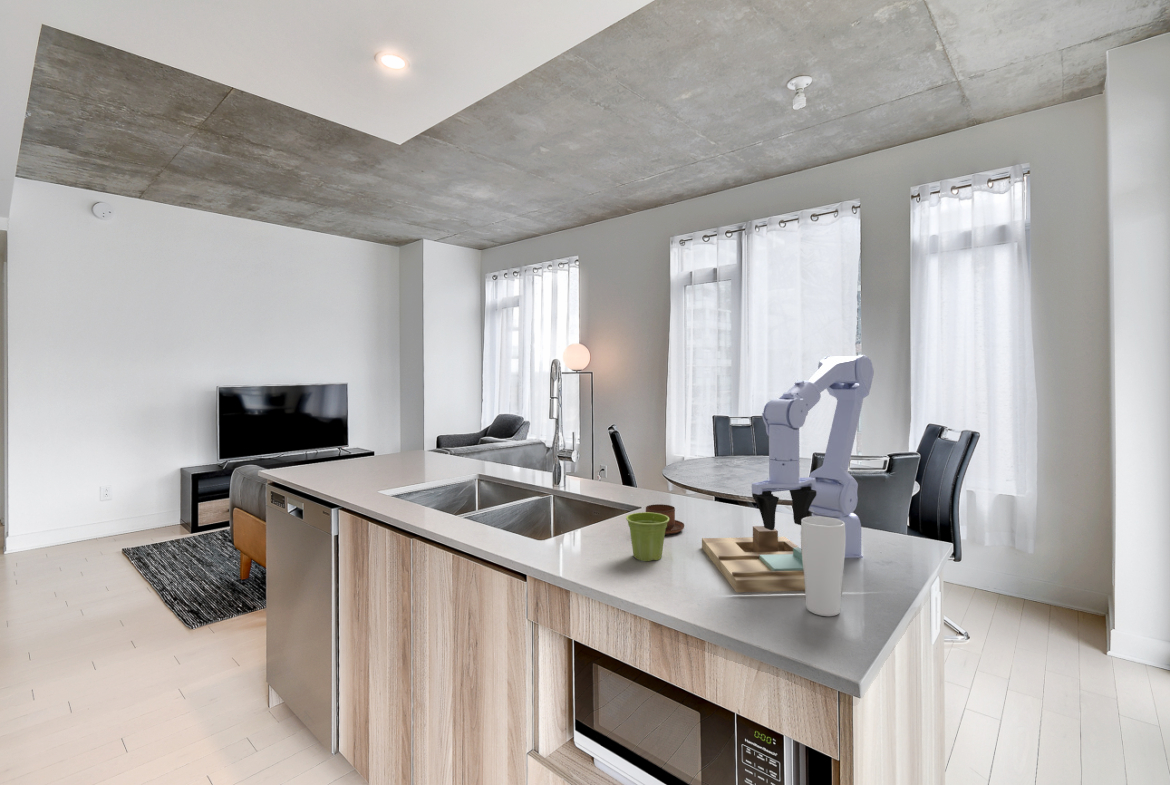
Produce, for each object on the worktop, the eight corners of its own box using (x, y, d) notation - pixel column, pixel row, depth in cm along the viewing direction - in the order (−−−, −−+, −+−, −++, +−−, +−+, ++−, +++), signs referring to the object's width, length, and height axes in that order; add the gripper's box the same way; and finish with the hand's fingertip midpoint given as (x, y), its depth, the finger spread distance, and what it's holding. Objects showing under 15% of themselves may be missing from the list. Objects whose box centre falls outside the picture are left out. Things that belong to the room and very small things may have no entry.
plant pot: (674, 553, 122) (674, 514, 121) (662, 567, 113) (662, 525, 113) (634, 548, 126) (634, 510, 125) (619, 561, 117) (619, 520, 117)
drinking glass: (793, 603, 94) (793, 516, 94) (831, 601, 95) (831, 515, 94) (813, 620, 87) (813, 527, 87) (854, 618, 88) (854, 525, 88)
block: (770, 553, 120) (770, 525, 120) (777, 559, 116) (777, 531, 116) (752, 553, 120) (752, 526, 120) (759, 559, 116) (759, 531, 116)
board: (784, 547, 125) (784, 534, 125) (840, 591, 99) (840, 574, 99) (701, 548, 125) (701, 535, 125) (736, 593, 99) (736, 577, 99)
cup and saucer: (627, 532, 139) (627, 508, 139) (653, 523, 148) (653, 500, 148) (668, 541, 131) (667, 515, 131) (693, 530, 140) (693, 506, 140)
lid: (799, 557, 110) (799, 546, 110) (816, 572, 102) (816, 559, 102) (759, 558, 110) (759, 547, 110) (774, 572, 102) (774, 560, 102)
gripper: (797, 454, 116) (798, 517, 116) (741, 458, 111) (741, 525, 111) (823, 458, 110) (823, 526, 110) (765, 463, 104) (765, 534, 105)
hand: (784, 526), depth 110 cm, fingers open, 7 cm apart
